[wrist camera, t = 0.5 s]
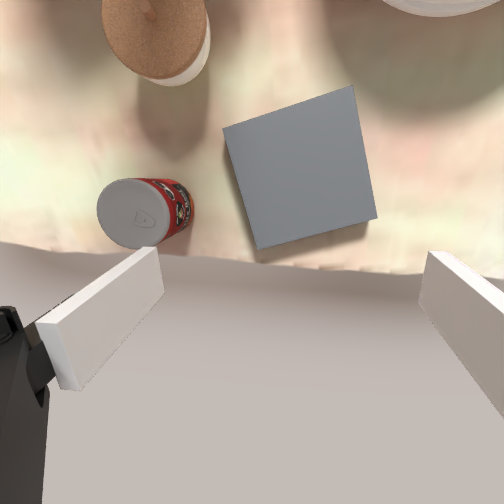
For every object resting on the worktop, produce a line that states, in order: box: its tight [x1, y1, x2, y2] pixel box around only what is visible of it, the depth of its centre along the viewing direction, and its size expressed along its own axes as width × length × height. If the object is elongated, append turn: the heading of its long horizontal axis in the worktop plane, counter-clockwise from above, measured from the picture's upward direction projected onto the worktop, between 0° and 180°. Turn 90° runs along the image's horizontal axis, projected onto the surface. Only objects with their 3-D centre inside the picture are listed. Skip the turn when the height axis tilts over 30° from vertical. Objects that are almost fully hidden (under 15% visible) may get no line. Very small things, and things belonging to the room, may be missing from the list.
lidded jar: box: [102, 0, 211, 86], centre depth 31 cm, size 11×11×9 cm
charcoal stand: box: [222, 85, 377, 250], centre depth 36 cm, size 16×16×3 cm
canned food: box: [97, 178, 194, 249], centre depth 35 cm, size 8×8×11 cm
